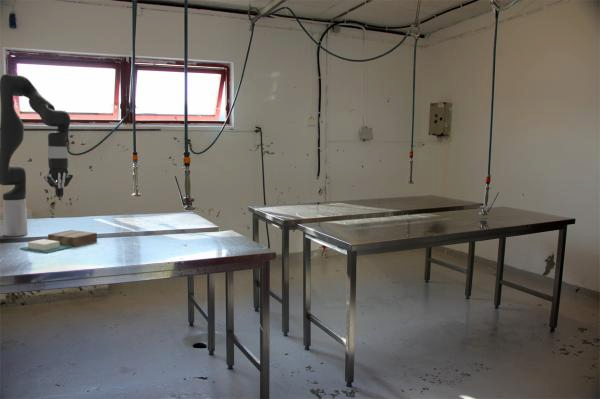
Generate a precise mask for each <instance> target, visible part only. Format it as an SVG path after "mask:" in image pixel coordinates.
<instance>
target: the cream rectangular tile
mask: <svg viewBox="0 0 600 399" xmlns="http://www.w3.org/2000/svg"><path fill="white" fill-rule="evenodd" d="M27 247H28V248H31V249H38V250H49V249H54V248H58V247H60V241H54V240H48V239H45V238H42V239H37V240H32V241H28V242H27Z"/></svg>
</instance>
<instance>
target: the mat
mask: <svg viewBox="0 0 600 399" xmlns="http://www.w3.org/2000/svg"><path fill="white" fill-rule="evenodd" d="M72 248H74V247H73V246H67V245H60V247H58V248H54V249H49V250H38V249H31V248H28V246H23V247H20V248H19V249H20V250H23V251H29V252H36V253H43V254H49V253H54V252H59V251H63V250H68V249H72Z"/></svg>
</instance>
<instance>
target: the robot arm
mask: <svg viewBox="0 0 600 399" xmlns="http://www.w3.org/2000/svg"><path fill="white" fill-rule="evenodd" d="M14 97H25V98H27V99H28V104H29V107H30V109H32V111H34V112H35V113H36V114H38V116H39V117H40V119H41V121H42V123H43V125H46V126H48V127H52V128H57V129H56V130H55V131H53V132H50V133H48V134H47V140H48V143H47V145H48V146H47V158H48V160H47V161H48V162H47V164H48V168H49V171H48V174H47V175H45V176H43V178H44V180H45V181H46V183H47V184H48V185H49V187H51V188H54V191H55V196H56V197H57V198H62V197H63V196H64V188H65V187H68V185H69V184H70V182H71V181H72V179H73V177H74V175H73V174H71V173H69V171H68V168H69V160H68V159H69V157H68V156H69V155H68V148H67V138H68V132H69V129H70V124H71V116H70V114H69V113H68V112H67V111H66V110H60V109H58V110H56V109H55V106H54V105H53V104H52V103H51V102H50V101H49V100H47V99H46V98H45V97H44V96H43V95H42V94H41V93H40V92H39V90H38V89H37V88H36V87H35V86H34V85H33V83H32V81H30V79H29V78H27V77H25V76H24V75H16V74H2V75H1V77H0V186H14V187H13V188H12V189H11V190H8V191H6V192H4V193H3V194H2V203H3V205H2V206H3V215H2V220H3V221H2V223H3V224H2V225H3V234H4V236H6V237H19V236H24V235H28V216H27V199H26V197H27V196H26V195H27V194H26V193H27V175H26V174H27V173H26V168H25V167H24V166H23V165H10V163H11V158H12V157H13V155H14V154H15V153H16V151H17V149H18V148H19V147H20V146H21V144H22V143H23V141H24V137H25V136H24V130H25V129H24V128H25V125H24V123H23V120H22V119H21V117H20V116H19V114H18V112H17V111H16V108H15V106H14V100H13V99H14Z"/></svg>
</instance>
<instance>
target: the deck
mask: <svg viewBox="0 0 600 399" xmlns="http://www.w3.org/2000/svg"><path fill="white" fill-rule="evenodd" d="M97 234H98V233H97V232H91V231H81V230H73V229H69V230H64V231H59V232H54V233H48V235H47V240H54V241H60V245H67V246H73V247H72V248H75V247H76V248H77V247H81V246H85V245H88V244H93V243H97V242H98V235H97Z"/></svg>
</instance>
